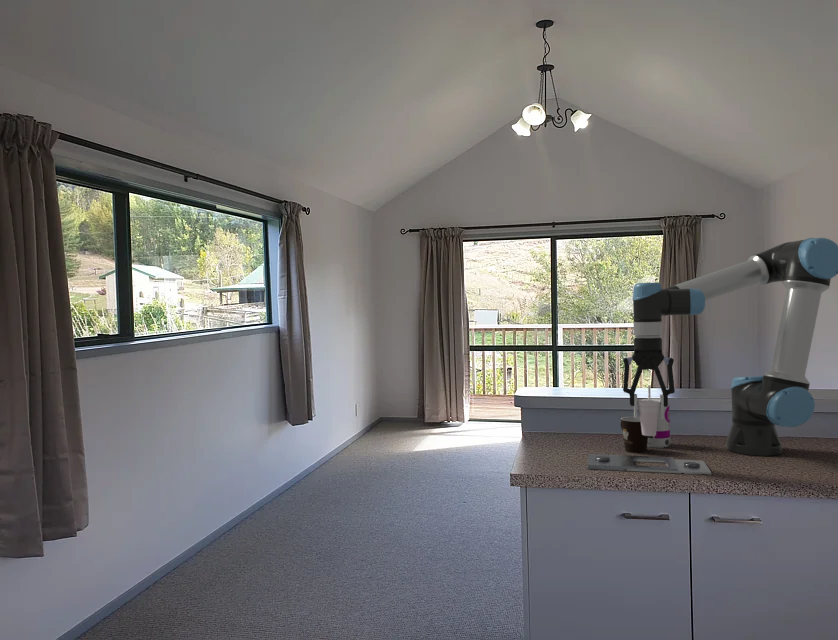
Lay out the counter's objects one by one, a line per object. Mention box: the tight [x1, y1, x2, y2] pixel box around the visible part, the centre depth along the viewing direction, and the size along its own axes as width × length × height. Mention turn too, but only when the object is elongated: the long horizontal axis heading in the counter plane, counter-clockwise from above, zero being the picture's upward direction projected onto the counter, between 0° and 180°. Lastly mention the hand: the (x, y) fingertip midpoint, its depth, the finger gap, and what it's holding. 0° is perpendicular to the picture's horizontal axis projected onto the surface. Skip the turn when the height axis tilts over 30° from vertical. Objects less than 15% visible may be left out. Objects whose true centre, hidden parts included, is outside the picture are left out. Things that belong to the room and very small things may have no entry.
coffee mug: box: [620, 416, 648, 454], centre depth 194 cm, size 12×9×10 cm
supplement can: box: [646, 397, 671, 449], centre depth 199 cm, size 8×8×15 cm
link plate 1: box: [587, 453, 678, 472], centre depth 176 cm, size 24×13×2 cm, turn 73°
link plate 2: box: [625, 458, 713, 476], centre depth 173 cm, size 22×13×1 cm, turn 73°
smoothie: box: [637, 385, 661, 436], centre depth 174 cm, size 6×6×14 cm
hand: (648, 417), depth 174 cm, fingers closed on smoothie, 6 cm apart
